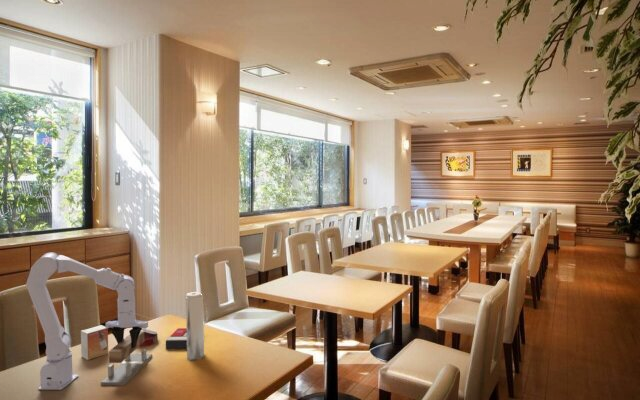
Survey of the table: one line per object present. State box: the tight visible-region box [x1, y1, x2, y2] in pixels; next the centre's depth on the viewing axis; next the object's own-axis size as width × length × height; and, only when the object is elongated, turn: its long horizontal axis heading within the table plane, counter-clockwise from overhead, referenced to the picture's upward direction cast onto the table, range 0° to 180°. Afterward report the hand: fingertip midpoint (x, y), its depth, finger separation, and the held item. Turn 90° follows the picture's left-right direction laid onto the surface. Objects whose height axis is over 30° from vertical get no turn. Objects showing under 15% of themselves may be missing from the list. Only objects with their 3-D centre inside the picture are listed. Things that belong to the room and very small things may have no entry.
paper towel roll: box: [185, 291, 205, 361], centre depth 159 cm, size 6×6×25 cm
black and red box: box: [165, 327, 187, 350], centre depth 175 cm, size 11×4×15 cm
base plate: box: [100, 349, 153, 386], centre depth 149 cm, size 22×8×4 cm, turn 179°
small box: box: [80, 324, 109, 361], centre depth 161 cm, size 8×6×10 cm
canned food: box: [138, 328, 158, 348], centre depth 174 cm, size 11×10×10 cm
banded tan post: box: [108, 330, 145, 364], centre depth 149 cm, size 18×4×4 cm, turn 179°
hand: (127, 347), depth 149 cm, fingers closed on banded tan post, 4 cm apart
